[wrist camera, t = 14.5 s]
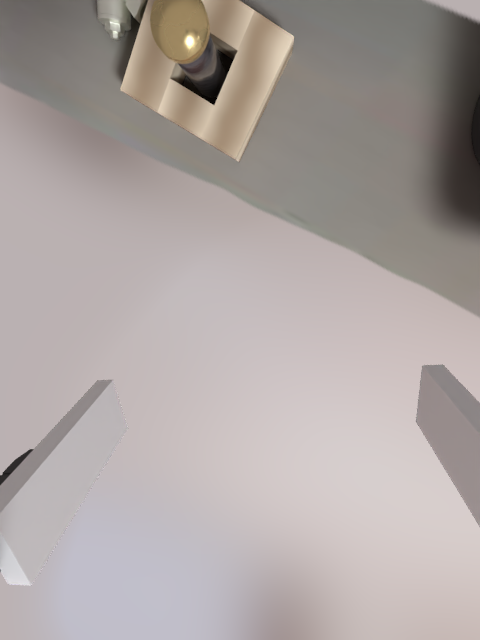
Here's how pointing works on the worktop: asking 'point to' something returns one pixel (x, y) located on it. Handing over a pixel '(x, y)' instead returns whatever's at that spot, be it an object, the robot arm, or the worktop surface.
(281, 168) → the worktop surface
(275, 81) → the socket block
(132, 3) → the pipe fitting
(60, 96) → the worktop surface
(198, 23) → the gold-capped peg
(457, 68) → the worktop surface
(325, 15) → the worktop surface
